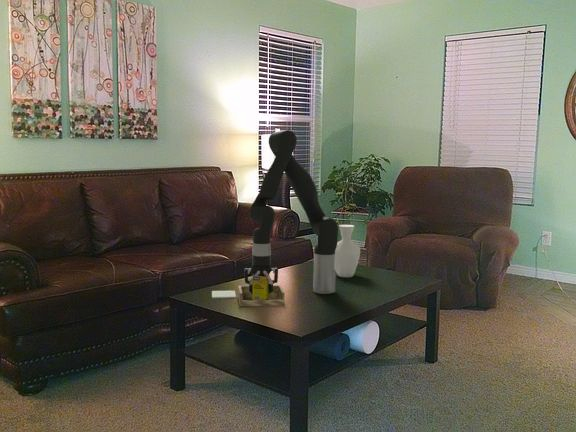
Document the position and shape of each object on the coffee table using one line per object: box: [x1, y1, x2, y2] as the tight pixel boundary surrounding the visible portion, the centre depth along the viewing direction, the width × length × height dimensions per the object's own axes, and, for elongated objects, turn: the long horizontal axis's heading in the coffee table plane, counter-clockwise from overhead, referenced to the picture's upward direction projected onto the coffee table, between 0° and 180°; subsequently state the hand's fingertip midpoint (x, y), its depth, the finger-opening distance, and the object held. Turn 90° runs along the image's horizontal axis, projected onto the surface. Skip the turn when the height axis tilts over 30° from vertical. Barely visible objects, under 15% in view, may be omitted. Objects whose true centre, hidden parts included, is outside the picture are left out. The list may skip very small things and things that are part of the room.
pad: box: [211, 290, 237, 300], centre depth 243 cm, size 10×10×1 cm
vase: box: [335, 224, 361, 278], centre depth 282 cm, size 14×14×25 cm
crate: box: [237, 284, 286, 307], centre depth 234 cm, size 18×13×5 cm
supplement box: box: [251, 273, 271, 300], centre depth 234 cm, size 6×6×11 cm
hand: (260, 293), depth 234 cm, fingers closed on supplement box, 7 cm apart
